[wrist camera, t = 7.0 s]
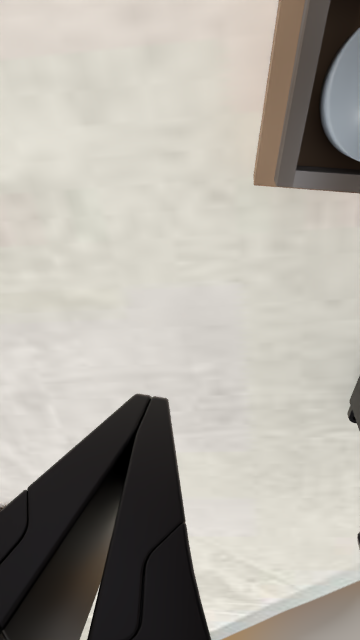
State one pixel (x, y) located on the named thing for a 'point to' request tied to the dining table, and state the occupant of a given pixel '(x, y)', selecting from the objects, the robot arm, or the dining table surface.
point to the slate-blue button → (343, 99)
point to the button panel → (304, 99)
